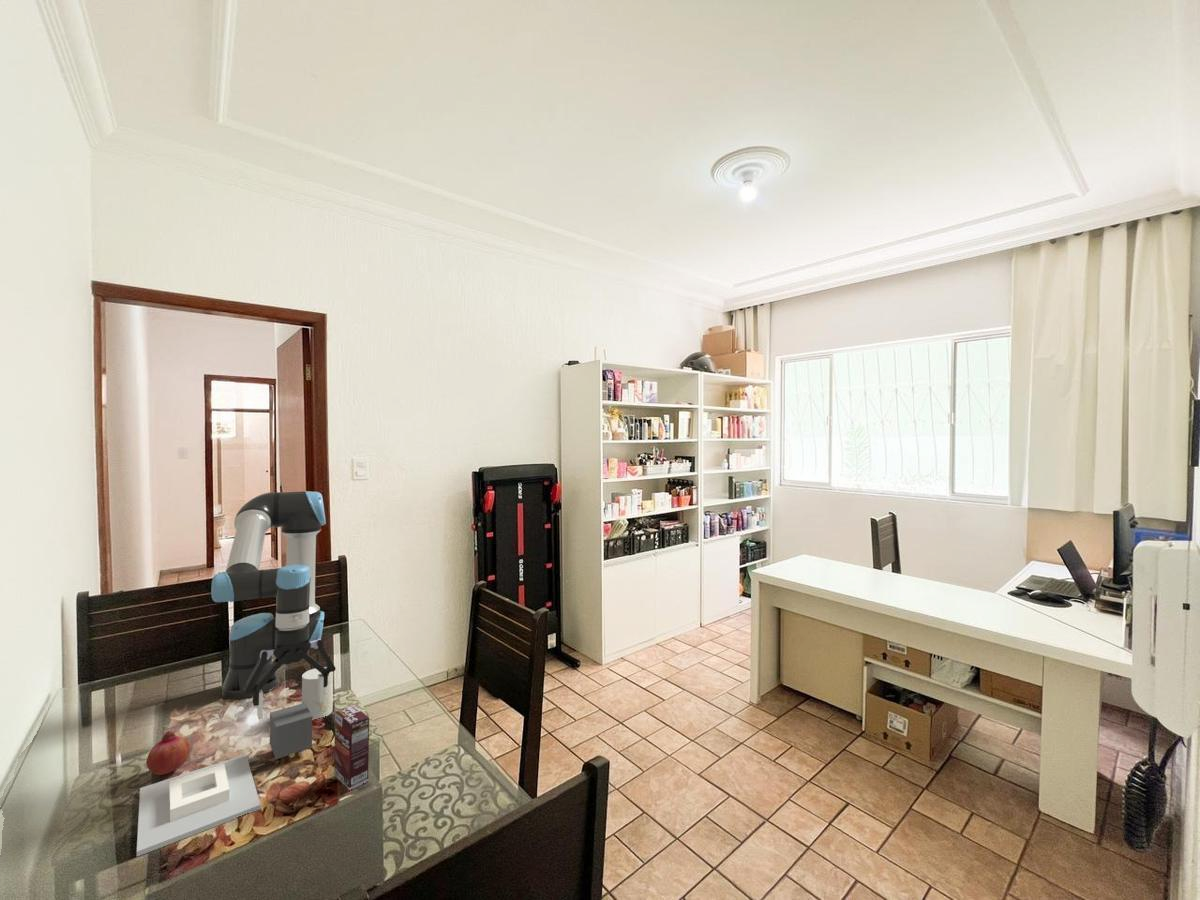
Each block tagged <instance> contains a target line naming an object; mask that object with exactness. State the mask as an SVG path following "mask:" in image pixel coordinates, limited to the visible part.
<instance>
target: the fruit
mask: <svg viewBox="0 0 1200 900" xmlns="http://www.w3.org/2000/svg"><path fill="white" fill-rule="evenodd" d="M190 751H191V750H190V744H189V741H188V740H187V739H186V738H185V737H183V736H178V735H176V734H175V733H174V732H173V731H165V733H164V735H163V736H162V738H161V740H160V741H158V742H157V743H156V744H155V745H154V746H153V747H152V748H151V749H150V751H149V753H148V755H147V757H146V766H147V769H148V770H149V771H150V772H151V773H152V774H154V775H158V776H163V775H167V774H168V775H169V774H170V773H172V772H174V771H175V770H177V769H178V768H181V766H182V765H184V764H185V763H186V762H187V760H188V759H189V756H190Z"/></svg>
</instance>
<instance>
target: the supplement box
mask: <svg viewBox="0 0 1200 900" xmlns="http://www.w3.org/2000/svg"><path fill="white" fill-rule="evenodd" d="M369 747H370V716H369V715H367V714H365V713H364V712H362V711H361V710H360V709H359V708H357V706H356V705H354V704H351V705H349V706H346V707H344V708H340V709H339V710H336V711H335V712H334V764H333V765H334V767H333V769H334V773H333V775H334V777H337V778H338V779H337V780H340V783H342V784H343V786H344V785H345V786H346V787H347V788H348V789H349V790H350V791H352V790H354V789H356V788H358V787H360V786H362V785H364V784H367V781H368V782H369V768H370V767H369V764H370V763H369V760H370V759H369V756H370V755H369V754H370V753H369V750H370V748H369ZM363 783H364V784H363ZM345 786H344V787H345ZM346 787H345V788H346ZM347 788H346V789H347ZM353 788H354V789H353ZM348 789H347V790H348ZM351 789H352V790H351ZM349 790H348V791H349Z"/></svg>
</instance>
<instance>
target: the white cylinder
mask: <svg viewBox="0 0 1200 900" xmlns="http://www.w3.org/2000/svg"><path fill="white" fill-rule="evenodd" d="M323 667H324V666H323ZM327 667H328V666H325V667H324V668H327ZM318 674H321V673H320V672H319V671H318V670H317V669H315V668H312V669H309V670H306V671H305V672H304V673H303V674H302V676H301V704H302V703H305V704H306V706H307V707H308V709H309V711H310V713H311V714H312V719H314V718H321V717H324V718H326V717H328V716H329V715H331V714H332V712H333V709H334V708H333V707H334V706H333V705H334V704H333V703H334V697H333V696H334V695H333V693H334V671H333V672H330V673H329V675H328V685H327V687H324V688H323V702H320V701H319V700H318ZM325 716H326V717H325ZM321 719H322V718H321Z"/></svg>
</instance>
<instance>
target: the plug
mask: <svg viewBox="0 0 1200 900" xmlns="http://www.w3.org/2000/svg"><path fill="white" fill-rule="evenodd" d="M269 745H270V748H271V750H272V753H273V756H274V758H275V760H277V759H280V758H283V757H286V756H288V758H289V757H291V758H293V757H292V756H294V757H296V753H298V752H302V751H304V750H306V749H307V750H308V749H310V748H312V747H313V720H312V714H311V713H310V711H309V709H308V707H307V706H306V704H305V703H302V702H301V703H299V704H296V705H292V706H291V705H290V706H289V707H285V708H281V709H277V710H274V711H270V712H269Z"/></svg>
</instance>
